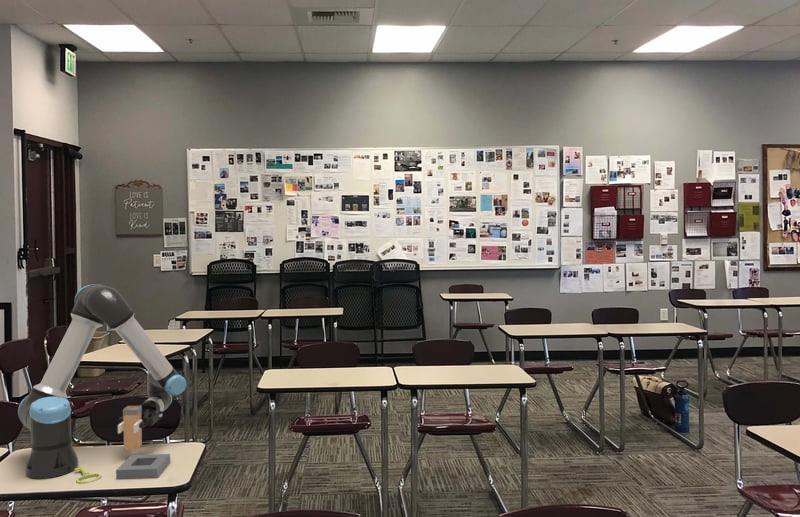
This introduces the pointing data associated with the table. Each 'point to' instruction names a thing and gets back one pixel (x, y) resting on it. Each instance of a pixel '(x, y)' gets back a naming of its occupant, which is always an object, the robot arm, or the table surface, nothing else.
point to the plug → (130, 418)
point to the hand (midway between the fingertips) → (126, 429)
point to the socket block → (143, 466)
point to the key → (86, 476)
